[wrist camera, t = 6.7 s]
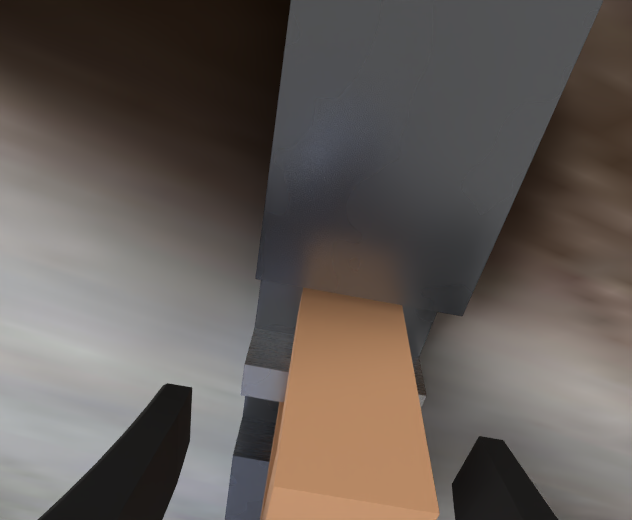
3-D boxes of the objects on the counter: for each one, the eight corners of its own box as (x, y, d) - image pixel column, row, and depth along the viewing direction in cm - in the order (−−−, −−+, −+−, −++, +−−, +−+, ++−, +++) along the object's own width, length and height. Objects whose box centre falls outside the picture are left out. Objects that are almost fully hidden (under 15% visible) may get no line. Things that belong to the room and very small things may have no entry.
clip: (360, 421, 15) (367, 634, 10) (278, 406, 15) (244, 615, 10) (402, 305, 12) (439, 513, 7) (303, 286, 12) (273, 486, 7)
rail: (345, 510, 20) (345, 578, 17) (234, 492, 20) (219, 558, 17) (540, -1, 9) (603, 0, 7) (311, -49, 9) (299, -64, 7)
